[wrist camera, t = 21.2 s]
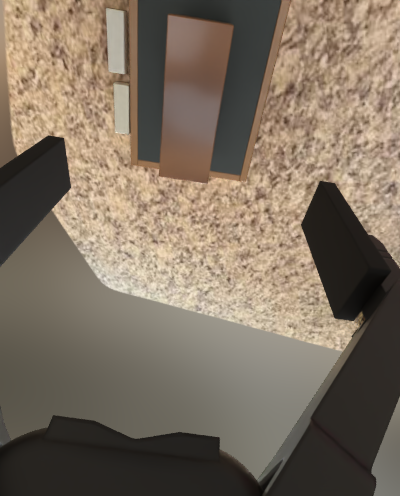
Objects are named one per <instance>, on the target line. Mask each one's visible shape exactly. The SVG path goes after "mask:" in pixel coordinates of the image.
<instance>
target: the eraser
mask: <svg viewBox="0 0 400 496" xmlns="http://www.w3.org/2000/svg"><path fill="white" fill-rule="evenodd" d="M233 29H234V25H233V24H231V23H227V22H222V21H216V20H210V19H205V18H199V17H193V16H188V15H181V14H168V17H167V36H166V55H165V73H164V92H163V110H162V129H161V148H160V166H159V176H160V177H167V178H173V179H179V180H186V181H192V182H198V183H205V184H207V183H208V178H209V172H210V166H211V160H212V155H213V149H214V143H215V137H216V131H217V125H218V119H219V113H220V107H221V101H222V95H223V89H224V83H225V77H226V71H227V65H228V59H229V53H230V47H231V41H232V35H233Z"/></svg>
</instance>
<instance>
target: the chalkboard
mask: <svg viewBox="0 0 400 496" xmlns="http://www.w3.org/2000/svg"><path fill="white" fill-rule="evenodd" d="M290 2H291V0H129V50H130V121H131V165H136V166H143V167H149V168H156V169H159V166H160V148H161V129H162V110H163V92H164V73H165V55H166V36H167V17H168V14H181V15H188V16H193V17H199V18H205V19H210V20H216V21H222V22H227V23H231V24H233V25H234V29H233V35H232V41H231V47H230V53H229V59H228V65H227V71H226V77H225V83H224V89H223V95H222V101H221V107H220V113H219V119H218V125H217V131H216V137H215V143H214V149H213V155H212V160H211V166H210V172H209V177H214V178H221V179H227V180H234V181H240V182H246V178H247V174H248V170H249V166H250V162H251V158H252V154H253V150H254V146H255V142H256V138H257V134H258V130H259V126H260V122H261V118H262V114H263V110H264V106H265V102H266V98H267V94H268V90H269V86H270V82H271V78H272V74H273V70H274V66H275V62H276V58H277V54H278V50H279V46H280V42H281V38H282V34H283V30H284V26H285V22H286V18H287V14H288V10H289V6H290Z"/></svg>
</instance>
